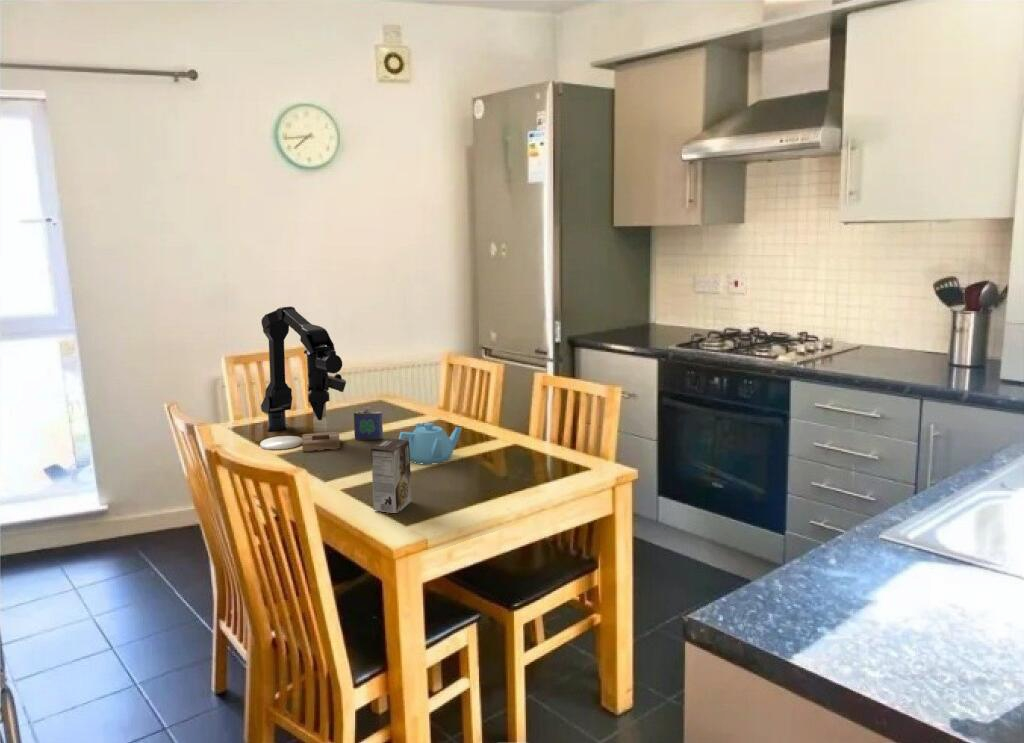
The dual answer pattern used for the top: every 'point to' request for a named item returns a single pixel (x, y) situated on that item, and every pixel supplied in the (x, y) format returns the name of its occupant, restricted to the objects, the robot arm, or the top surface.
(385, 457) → the coffee box
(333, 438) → the holder
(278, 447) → the plate
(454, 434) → the teapot
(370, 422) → the flask
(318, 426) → the block
